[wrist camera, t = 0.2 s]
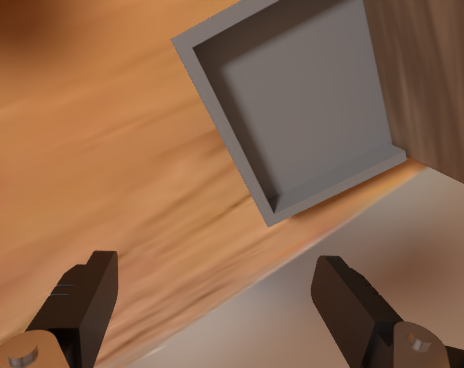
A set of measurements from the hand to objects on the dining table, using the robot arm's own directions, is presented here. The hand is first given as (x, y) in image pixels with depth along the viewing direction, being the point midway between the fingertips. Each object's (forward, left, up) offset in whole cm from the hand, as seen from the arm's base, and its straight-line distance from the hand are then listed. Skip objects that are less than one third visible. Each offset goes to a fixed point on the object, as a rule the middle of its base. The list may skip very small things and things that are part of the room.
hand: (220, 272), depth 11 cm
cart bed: (-9, +7, -22) cm, 25 cm away
